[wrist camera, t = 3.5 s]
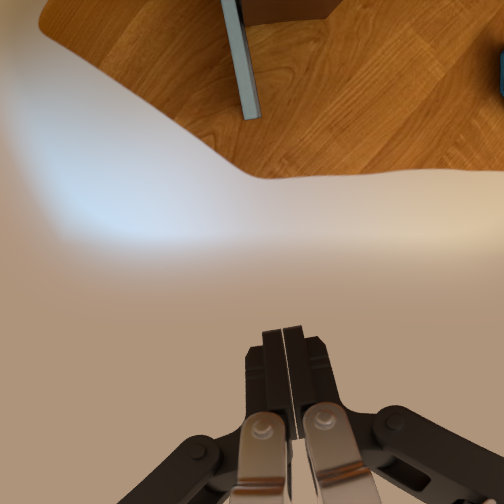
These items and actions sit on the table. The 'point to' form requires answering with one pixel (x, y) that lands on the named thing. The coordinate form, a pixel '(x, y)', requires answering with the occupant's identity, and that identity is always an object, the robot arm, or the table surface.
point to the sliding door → (239, 59)
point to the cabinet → (278, 19)
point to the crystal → (502, 74)
